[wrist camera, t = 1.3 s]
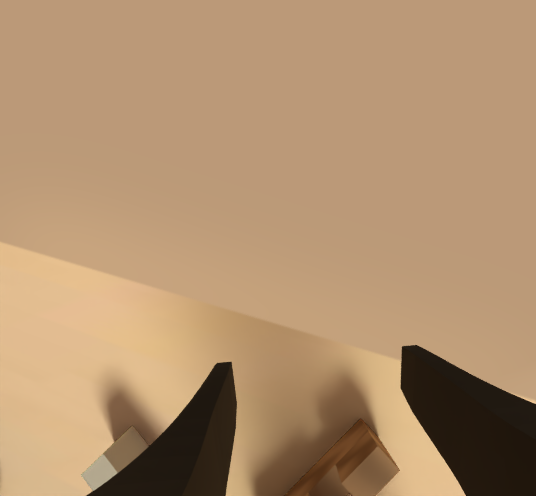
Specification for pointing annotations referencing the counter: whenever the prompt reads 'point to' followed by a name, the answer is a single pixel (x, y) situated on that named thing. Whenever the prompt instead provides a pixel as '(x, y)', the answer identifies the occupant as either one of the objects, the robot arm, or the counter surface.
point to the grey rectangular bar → (115, 458)
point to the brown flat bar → (349, 467)
